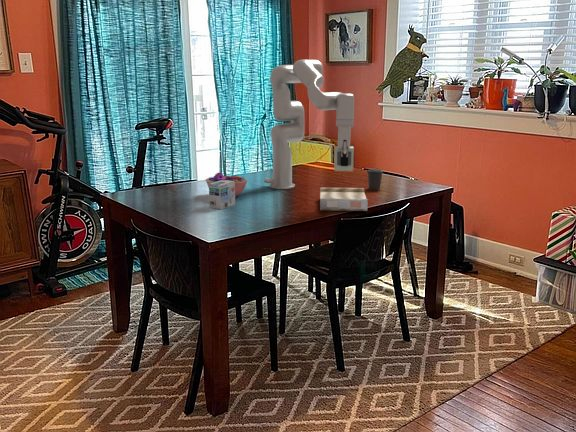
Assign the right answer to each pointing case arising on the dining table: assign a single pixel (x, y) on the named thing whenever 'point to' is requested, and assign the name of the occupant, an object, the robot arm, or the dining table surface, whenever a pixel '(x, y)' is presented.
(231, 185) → the light bulb box
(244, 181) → the cell model
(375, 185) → the coffee cup
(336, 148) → the product box
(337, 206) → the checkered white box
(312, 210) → the dining table surface
